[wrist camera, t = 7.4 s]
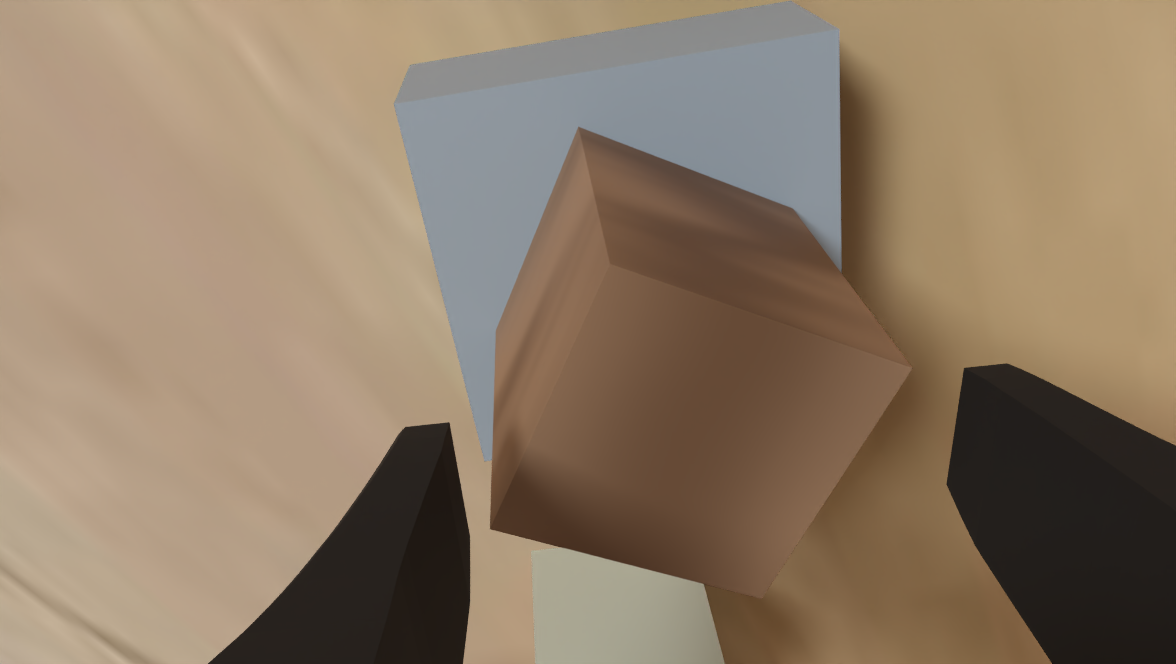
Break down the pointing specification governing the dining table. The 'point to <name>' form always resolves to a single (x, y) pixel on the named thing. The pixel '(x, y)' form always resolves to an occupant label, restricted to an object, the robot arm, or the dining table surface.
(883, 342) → the walnut block
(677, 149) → the base block
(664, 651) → the sage block
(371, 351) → the dining table surface
